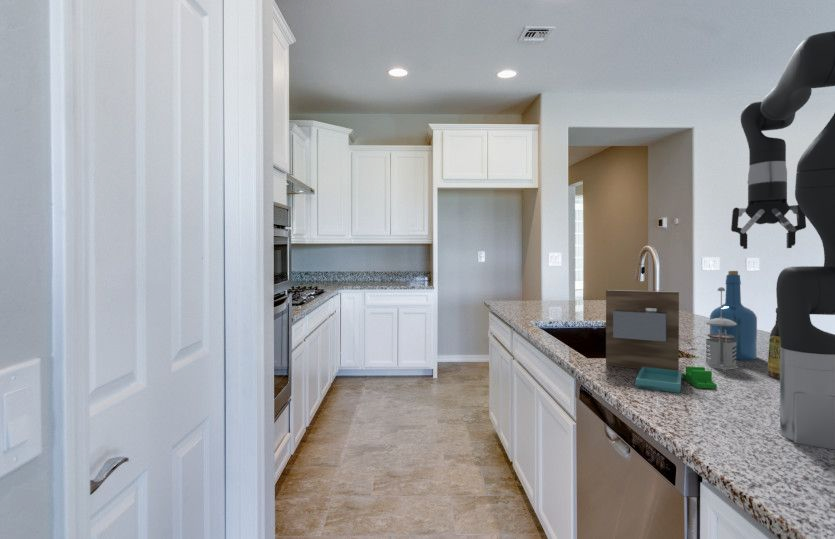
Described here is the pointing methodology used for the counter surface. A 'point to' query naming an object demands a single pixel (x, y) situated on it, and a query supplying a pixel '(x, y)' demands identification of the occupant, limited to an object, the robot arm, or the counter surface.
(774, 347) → the sauce bottle
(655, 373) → the tray
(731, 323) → the french press
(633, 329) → the control unit
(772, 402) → the counter surface
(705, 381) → the pipe clamp
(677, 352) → the board
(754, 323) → the wine bottle
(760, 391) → the counter surface
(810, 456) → the counter surface
